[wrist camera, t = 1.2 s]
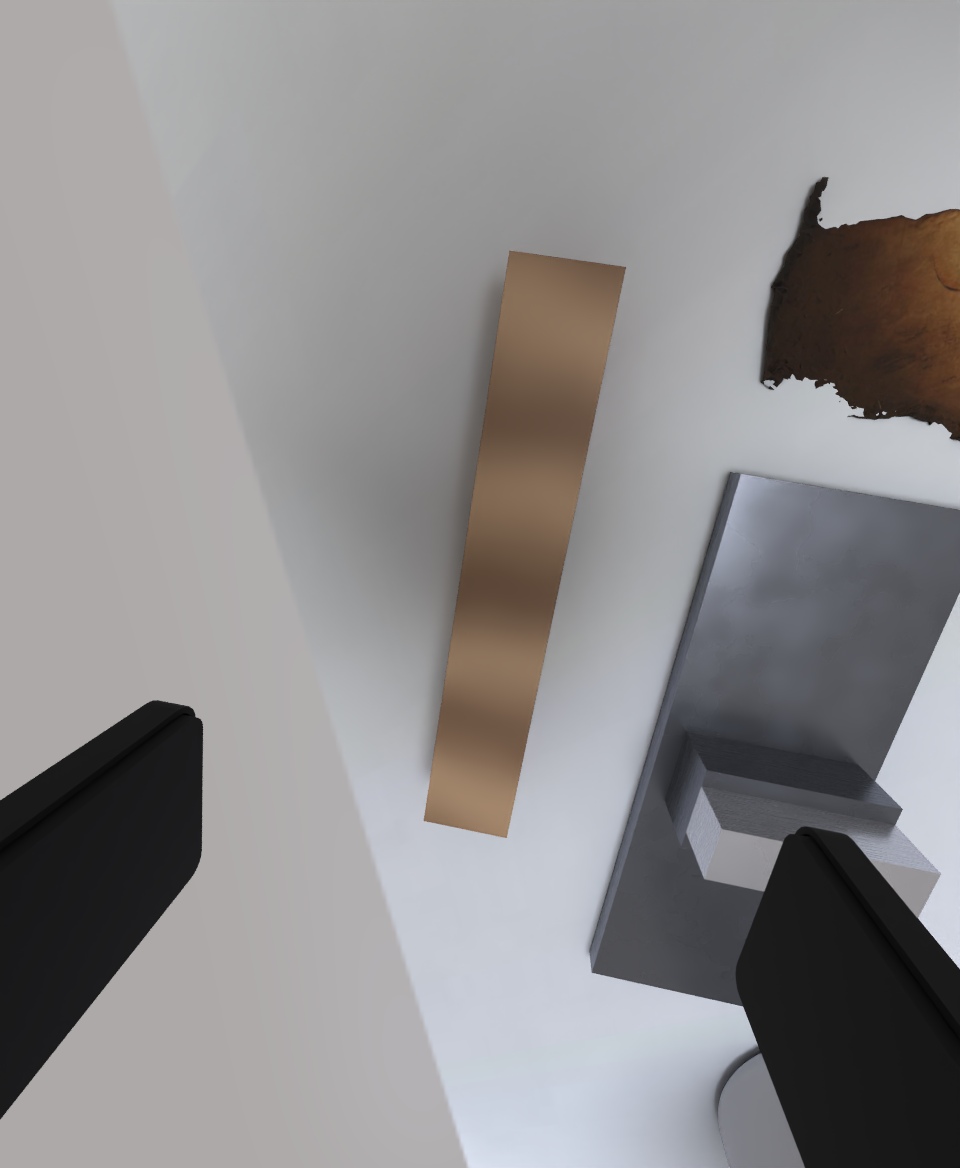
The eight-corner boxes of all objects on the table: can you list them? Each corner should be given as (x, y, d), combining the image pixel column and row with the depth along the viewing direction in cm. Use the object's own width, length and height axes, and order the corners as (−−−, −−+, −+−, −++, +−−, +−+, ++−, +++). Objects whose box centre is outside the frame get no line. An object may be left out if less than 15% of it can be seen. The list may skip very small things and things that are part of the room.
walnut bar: (513, 284, 21) (509, 250, 18) (609, 298, 21) (625, 267, 17) (438, 769, 28) (423, 820, 24) (510, 783, 28) (506, 838, 24)
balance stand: (730, 471, 22) (810, 484, 16) (969, 511, 22) (1153, 541, 15) (589, 952, 30) (604, 1091, 24) (761, 990, 29) (825, 1143, 23)
